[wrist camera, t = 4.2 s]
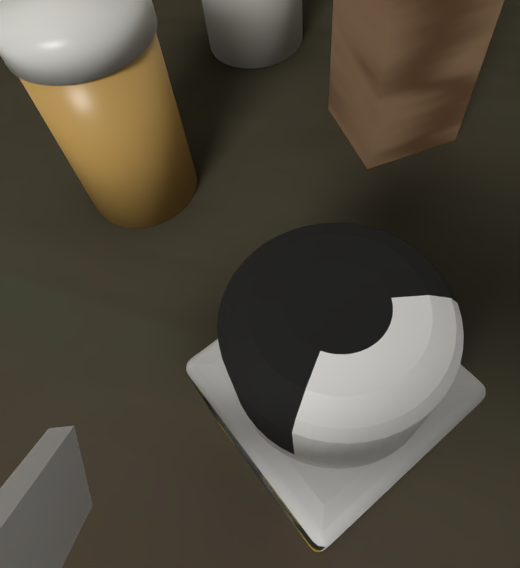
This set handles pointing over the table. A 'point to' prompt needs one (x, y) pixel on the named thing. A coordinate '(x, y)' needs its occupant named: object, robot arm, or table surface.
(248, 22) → the white tub
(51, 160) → the table surface
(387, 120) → the walnut block
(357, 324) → the medicine bottle
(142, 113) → the amber jar
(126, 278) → the table surface
